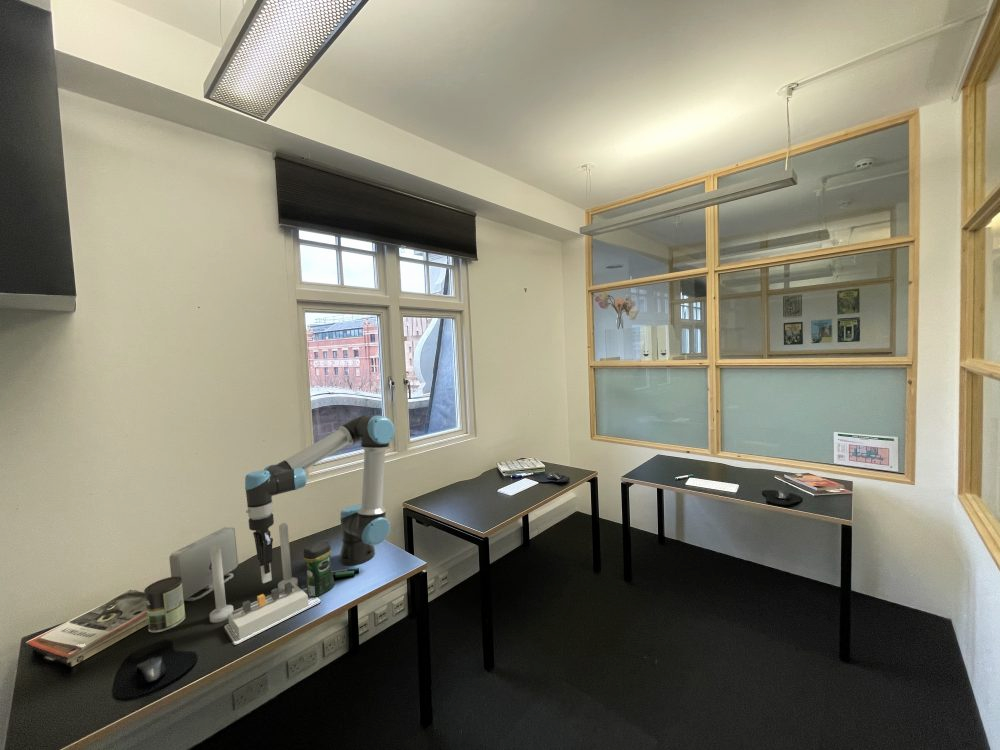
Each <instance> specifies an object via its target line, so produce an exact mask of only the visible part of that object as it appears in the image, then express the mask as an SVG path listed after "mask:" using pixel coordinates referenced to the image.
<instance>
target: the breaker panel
mask: <svg viewBox="0 0 1000 750" xmlns="http://www.w3.org/2000/svg"><path fill="white" fill-rule="evenodd" d="M292 589H294V592H292V593H289V594H287V595H285V596H283V597H281V598H278V599H276V600H274V601H272V602H270V603H267V604H265V605H263V606H261V607H258V608H256V609H254V610H252V611H250V612H247V613H245V614H243V615H241V612H242V611H243V606H242V607H240V608H238V609H235V610H234V611H233V612H230V613H228V625H229V627H230V628H231V630H232V631H233V630H234V631H233V632H234V634H235V633H236V634H237V635H236V634H235V635H236V636H237V638H238V639H239V640H241V638H242V639H243V637H244V638H245V636H246V637H248V636H250V635H251V633H252V634H254V633H256V632H258V631H259V630H262V629H264V628H266V627H267V626H270V625H272V624H274V623H276V622H279V621H280V620H282V619H285V618H286V617H288V616H290V615H293V614H294V613H296V612H299V611H301V610H303V609H304V608H307V607H309V596H308V595H309V594H308V593H307V592H305V591H304V590H302V589H301V588H300V587H299V585H298V586H296V585H295V584H294V585H292ZM283 593H285V589H283V590H280V591H279V595H280V594H283ZM271 598H272V594H269V595H267V596H265V601H267V600H269V599H271ZM250 604H251V607H253V606H256V605H258V600H255V601H252V602H250ZM255 631H256V632H255ZM253 632H254V633H253ZM249 634H250V635H249ZM247 635H248V636H247Z"/></svg>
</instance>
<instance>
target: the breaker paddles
mask: <svg viewBox="0 0 1000 750" xmlns="http://www.w3.org/2000/svg"><path fill="white" fill-rule="evenodd" d="M292 592H294V589H292V584H291V583H290V582H289V583H287V584H285V593H283V594H280V595H279V590H278V587H275V588H274V589H272V590H270V593H271V594H272V598H271V599H269V600H267V601H265V597H266V595H265V594H264V593H262V594H260V595H257V596H256V599H257V600H256V601H258V605H256V606H253V607H251V601H250V600H246V601H245V600H244V601H243V602H242V607H243V611H242V612H241V615H243V614H245V613H247V612H250V611H252V610H254V609H256V608H258V607H261V606H263V605H265V604H267V603H270V602H272V601H274V600H276V599H278V598H281V597H283V596H285V595H287V594H289V593H292ZM271 594H270V595H271Z"/></svg>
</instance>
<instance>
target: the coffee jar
mask: <svg viewBox="0 0 1000 750" xmlns="http://www.w3.org/2000/svg"><path fill="white" fill-rule="evenodd" d="M331 553H332V548H331V544H330V542H329V541H328V540H324V539H321V540H320V541H318V542H316V543H313V544H311V545H309V546H307V547H304V548H303V560H304V562H305V565H306V594H307V595H309V596H310V597H319V596H322V595H324V594H325V593H326V592H327V593H328V592H329V591H330V590H331V589H333V588H334V587H335V579H334V578H335V577H334V574H333V569H332V564H331Z"/></svg>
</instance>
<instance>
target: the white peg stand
mask: <svg viewBox="0 0 1000 750" xmlns="http://www.w3.org/2000/svg"><path fill="white" fill-rule="evenodd" d="M210 553H211V563H212V573H213V583H214V590H213V593H214V602H215V609H213V610H212V611H211V612H209V622H210V623H213V624H216V623H221V622H224V621H227V620H229V618H228V613H230V612H233V611H235V610H234V606H233V605H232V604H227V600H226V590H225V583H224V580H225V578H224V576H223V567H222V557H221V548H220V546H219V545H214V546H213V547H212V548H211V550H210Z"/></svg>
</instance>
